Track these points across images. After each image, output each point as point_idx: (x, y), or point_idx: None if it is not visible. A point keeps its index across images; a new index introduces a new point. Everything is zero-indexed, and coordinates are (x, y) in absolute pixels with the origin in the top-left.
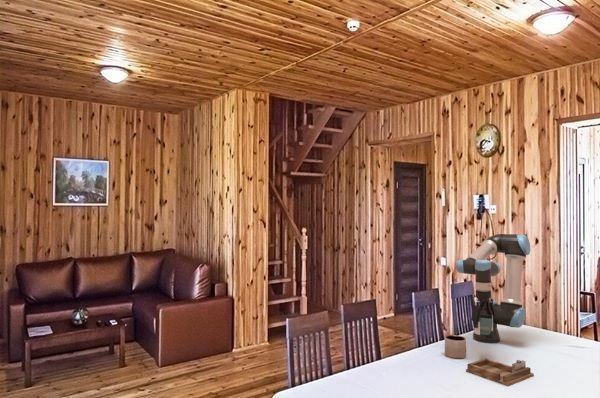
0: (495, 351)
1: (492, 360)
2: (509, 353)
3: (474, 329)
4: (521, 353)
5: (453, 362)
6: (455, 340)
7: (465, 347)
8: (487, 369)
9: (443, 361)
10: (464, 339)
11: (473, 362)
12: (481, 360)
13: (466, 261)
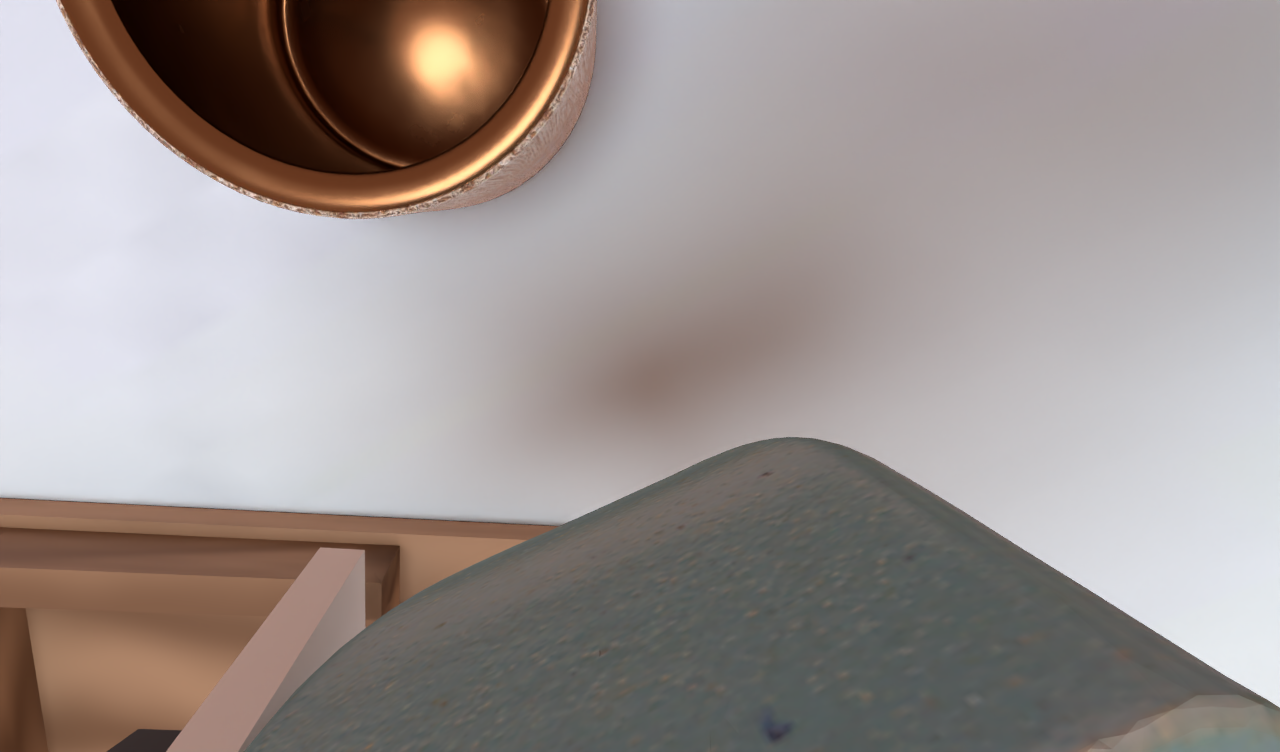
0: (1064, 329)
1: None
2: (1095, 476)
3: (259, 629)
4: (1185, 557)
5: (127, 194)
6: (108, 82)
7: (434, 210)
8: (213, 661)
9: (12, 61)
10: (395, 189)
11: (51, 576)
12: (242, 594)
13: None
